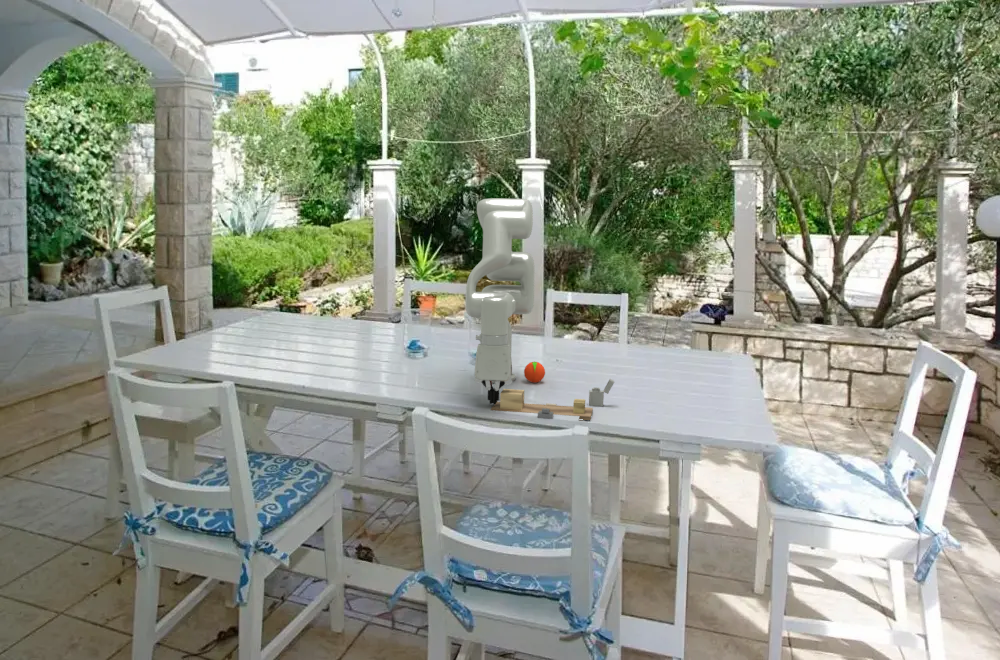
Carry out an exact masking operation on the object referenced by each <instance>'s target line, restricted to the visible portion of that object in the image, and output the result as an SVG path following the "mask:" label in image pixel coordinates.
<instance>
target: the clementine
mask: <svg viewBox="0 0 1000 660" xmlns="http://www.w3.org/2000/svg"><path fill="white" fill-rule="evenodd" d="M523 375H524V377H525V379H526V380H527V381H528V382H529V383H532V384H535V383H540V382H541V381H543V379H544V377H545V375H546V369H545V366H543V364H541V363H540V362H538V361H532V362H531V361H530V362H528V364H527V365H526V366H525V367H524V370H523Z"/></svg>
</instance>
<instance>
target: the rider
mask: <svg viewBox="0 0 1000 660" xmlns="http://www.w3.org/2000/svg"><path fill="white" fill-rule="evenodd" d="M499 402H500V409H513V410H522V408H523V406H524V403H525V389H513V388H512V389H511V388H503V389H502V391H500V392H499Z"/></svg>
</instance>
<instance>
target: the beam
mask: <svg viewBox="0 0 1000 660" xmlns="http://www.w3.org/2000/svg"><path fill="white" fill-rule="evenodd" d="M542 408H546V409H550V412H554V415H556V416H573V417H579V418H578V420H579V419H583V420H591V421H592V417H593V409H594V408H593V407H587V406H586V399H585V398H574V400H573V405H572V406H571V405H570V406H568V405H558V404H557V403H550V402H549V403H547V402H546V403H545V404H543V403H542V404H539V403H526V402H524V406H523V408H522V410H513V409H500V401H497V403H496V404H493V406H491V408H490V411H494V412H495V411H497V412H513V413H526V414H538V412H539V411H542ZM554 415H553V416H554ZM591 416H592V417H591ZM583 420H582V421H583Z"/></svg>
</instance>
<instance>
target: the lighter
mask: <svg viewBox="0 0 1000 660" xmlns="http://www.w3.org/2000/svg"><path fill="white" fill-rule="evenodd" d="M614 383H615V380H614V379H613V378H612V379H611V378H609V380H608V382H607V383H606V386H605V387H604V389H603V390H601V387H592V388H591V389H589V392H588V406H589V407H604V399H605V398H604V397H605V396H604V394H609V393H610V391H611V389H612V387H613V386H614Z"/></svg>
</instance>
